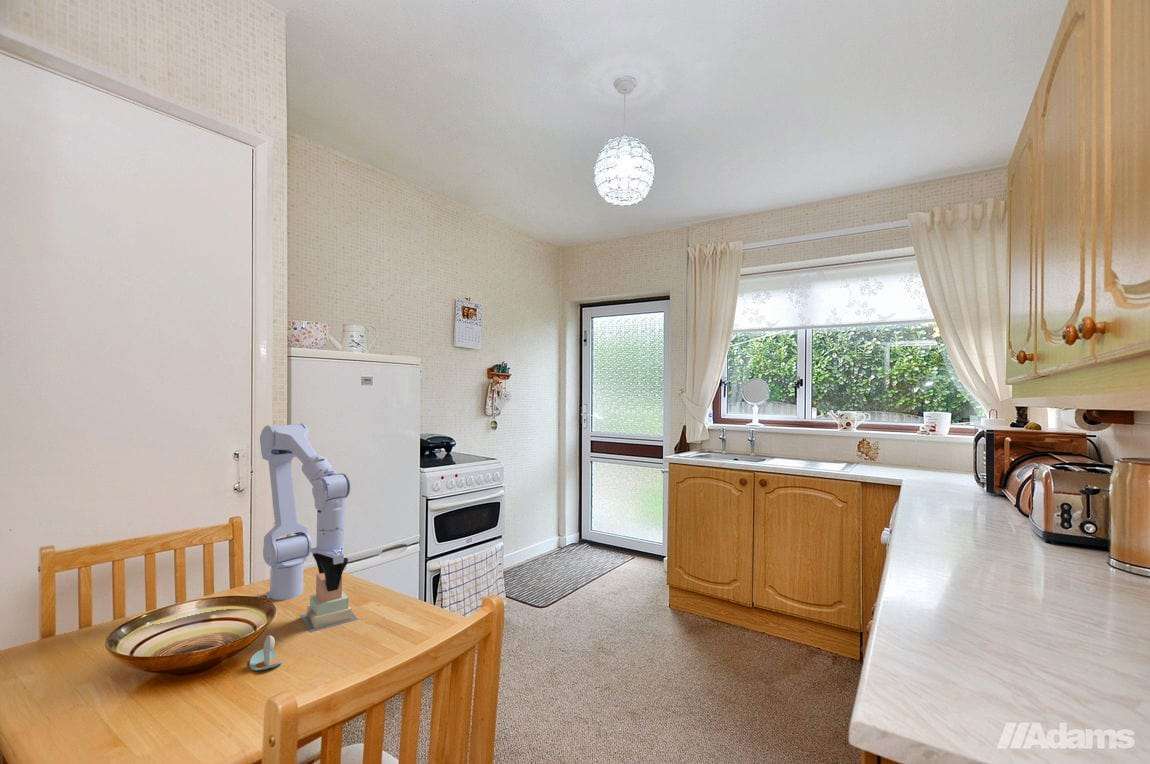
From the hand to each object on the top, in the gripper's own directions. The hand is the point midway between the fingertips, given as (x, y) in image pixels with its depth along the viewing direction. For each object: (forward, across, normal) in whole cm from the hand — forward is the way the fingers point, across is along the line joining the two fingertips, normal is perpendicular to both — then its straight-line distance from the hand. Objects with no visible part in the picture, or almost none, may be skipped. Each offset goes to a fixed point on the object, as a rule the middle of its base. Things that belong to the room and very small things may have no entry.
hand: (329, 586), depth 118 cm
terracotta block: (+2, 0, 0) cm, 2 cm away
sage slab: (+5, 0, 0) cm, 5 cm away
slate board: (+8, 0, 0) cm, 8 cm away
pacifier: (+9, +13, -15) cm, 22 cm away
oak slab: (+7, 0, 0) cm, 7 cm away
